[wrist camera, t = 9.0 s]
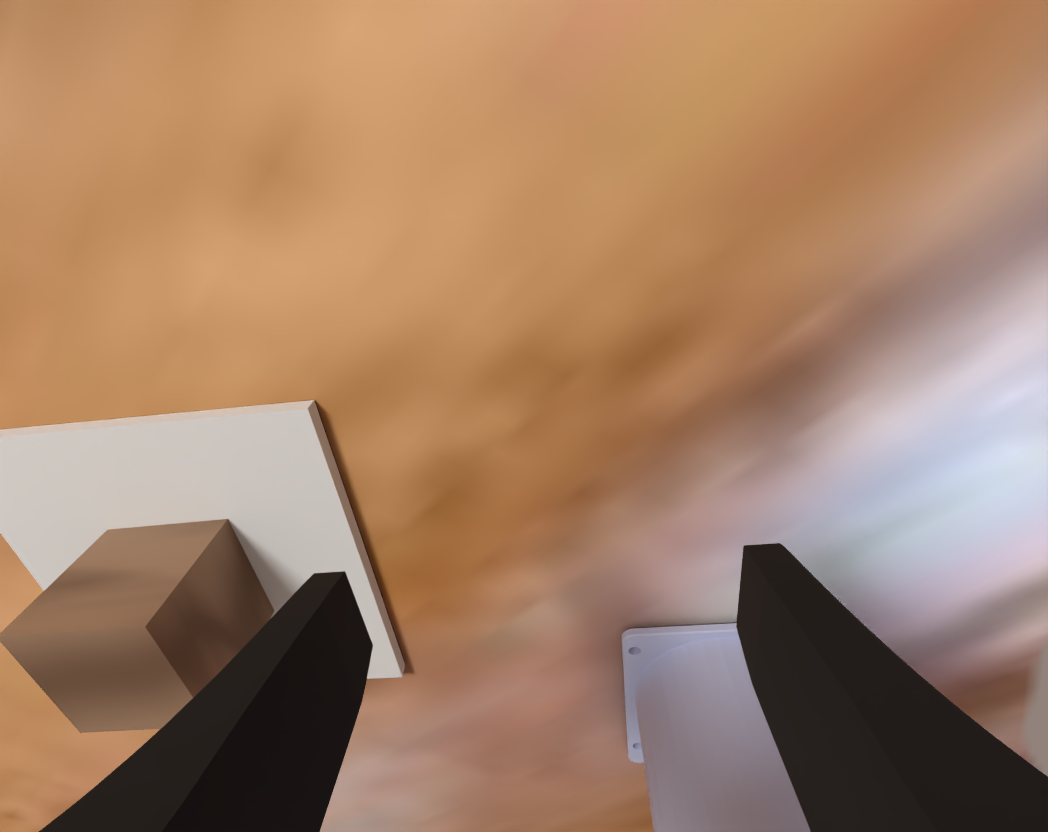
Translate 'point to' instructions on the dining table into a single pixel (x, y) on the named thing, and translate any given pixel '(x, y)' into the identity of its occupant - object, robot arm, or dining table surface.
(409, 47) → the dining table surface
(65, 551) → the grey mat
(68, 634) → the walnut cube
